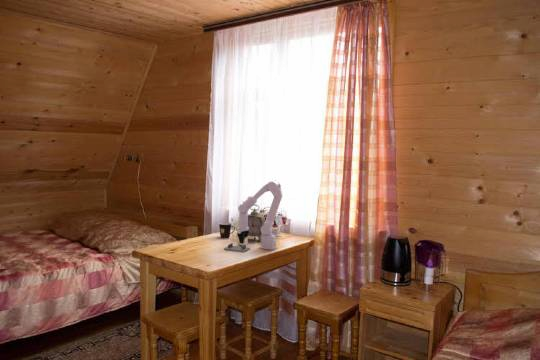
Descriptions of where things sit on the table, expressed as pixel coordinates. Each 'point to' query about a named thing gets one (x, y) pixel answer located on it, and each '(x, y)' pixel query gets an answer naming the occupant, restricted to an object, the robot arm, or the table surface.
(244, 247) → the board
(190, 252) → the table surface
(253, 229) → the tabletop clock
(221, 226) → the coffee mug
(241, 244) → the connector plug
